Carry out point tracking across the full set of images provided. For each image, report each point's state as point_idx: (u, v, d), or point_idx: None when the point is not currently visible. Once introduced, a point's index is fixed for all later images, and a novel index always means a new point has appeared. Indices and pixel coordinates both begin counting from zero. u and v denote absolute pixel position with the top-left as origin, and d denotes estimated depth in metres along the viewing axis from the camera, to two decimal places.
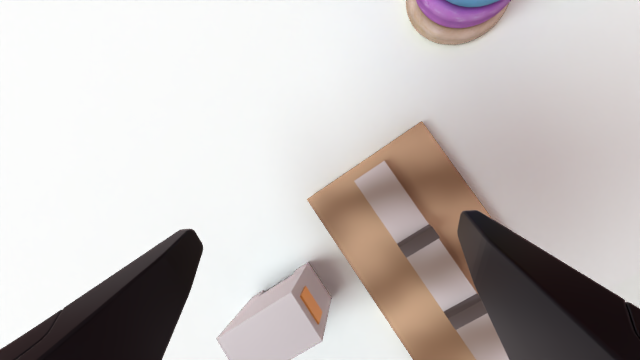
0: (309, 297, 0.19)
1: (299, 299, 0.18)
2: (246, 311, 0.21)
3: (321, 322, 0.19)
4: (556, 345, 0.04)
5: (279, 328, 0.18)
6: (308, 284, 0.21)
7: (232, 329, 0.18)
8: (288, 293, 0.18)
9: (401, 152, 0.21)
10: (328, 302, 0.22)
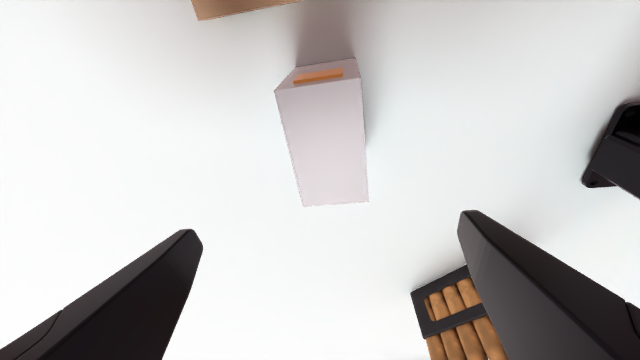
0: (309, 75, 0.13)
1: (293, 85, 0.12)
2: None
3: (348, 72, 0.12)
4: (556, 345, 0.04)
5: (318, 130, 0.12)
6: (305, 73, 0.14)
7: (298, 186, 0.14)
8: (276, 95, 0.12)
9: None
10: (351, 61, 0.15)
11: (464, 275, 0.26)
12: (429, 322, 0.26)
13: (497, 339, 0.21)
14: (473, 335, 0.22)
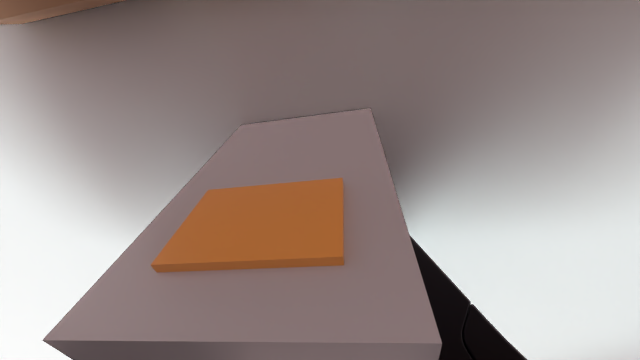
0: (229, 213, 0.04)
1: (141, 302, 0.03)
2: None
3: (366, 220, 0.03)
4: None
5: None
6: (242, 168, 0.05)
7: None
8: None
9: None
10: (364, 125, 0.06)
11: None
12: None
13: None
14: None
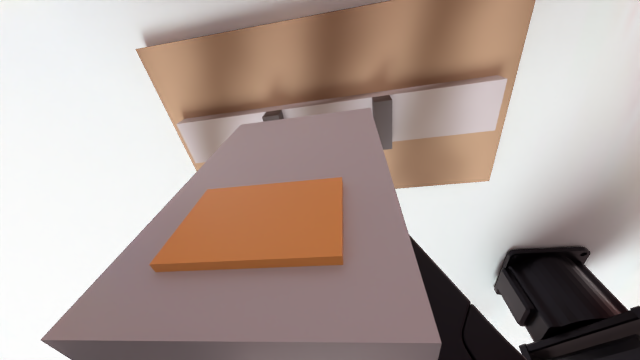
0: (228, 212, 0.04)
1: (139, 302, 0.03)
2: None
3: (365, 220, 0.03)
4: None
5: None
6: (241, 168, 0.05)
7: None
8: None
9: (176, 93, 0.16)
10: (364, 125, 0.06)
11: None
12: None
13: None
14: None
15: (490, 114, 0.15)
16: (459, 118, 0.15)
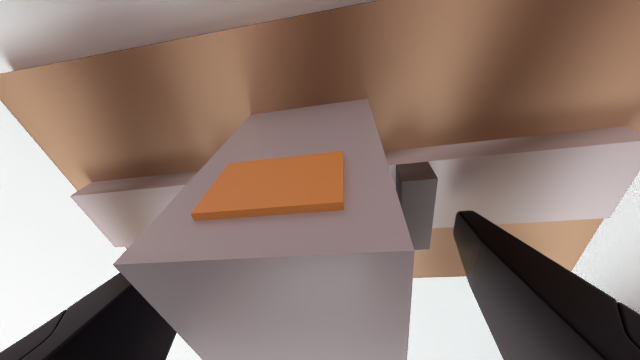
0: (250, 178, 0.05)
1: (186, 239, 0.04)
2: None
3: (361, 181, 0.04)
4: (548, 345, 0.04)
5: (276, 342, 0.04)
6: (255, 148, 0.06)
7: None
8: (130, 270, 0.04)
9: (68, 147, 0.10)
10: (362, 113, 0.07)
11: None
12: None
13: None
14: None
15: (608, 194, 0.08)
16: (550, 198, 0.08)
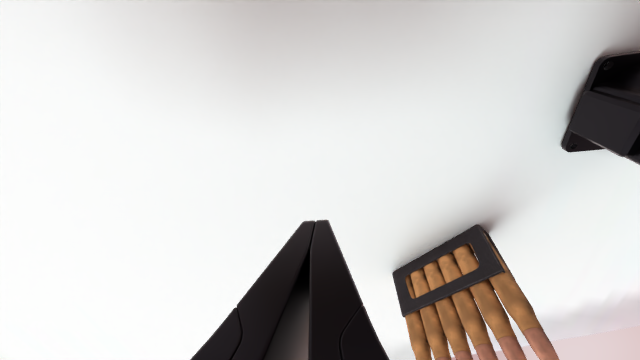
0: None
1: None
2: None
3: None
4: None
5: None
6: None
7: None
8: None
9: None
10: None
11: (445, 251, 0.25)
12: (409, 300, 0.25)
13: (475, 312, 0.20)
14: (451, 310, 0.21)
15: None
16: None
